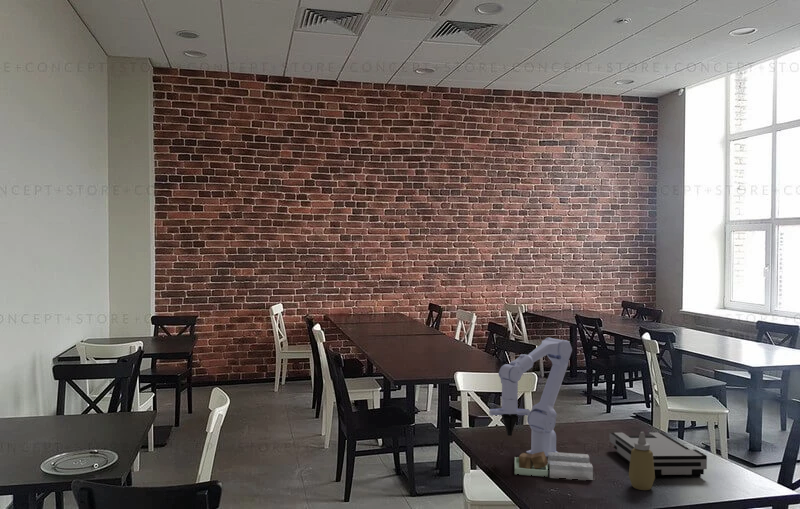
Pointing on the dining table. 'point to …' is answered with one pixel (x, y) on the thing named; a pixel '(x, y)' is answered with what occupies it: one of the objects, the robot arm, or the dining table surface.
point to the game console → (664, 454)
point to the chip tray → (530, 470)
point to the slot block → (569, 466)
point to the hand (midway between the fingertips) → (509, 434)
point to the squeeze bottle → (641, 465)
